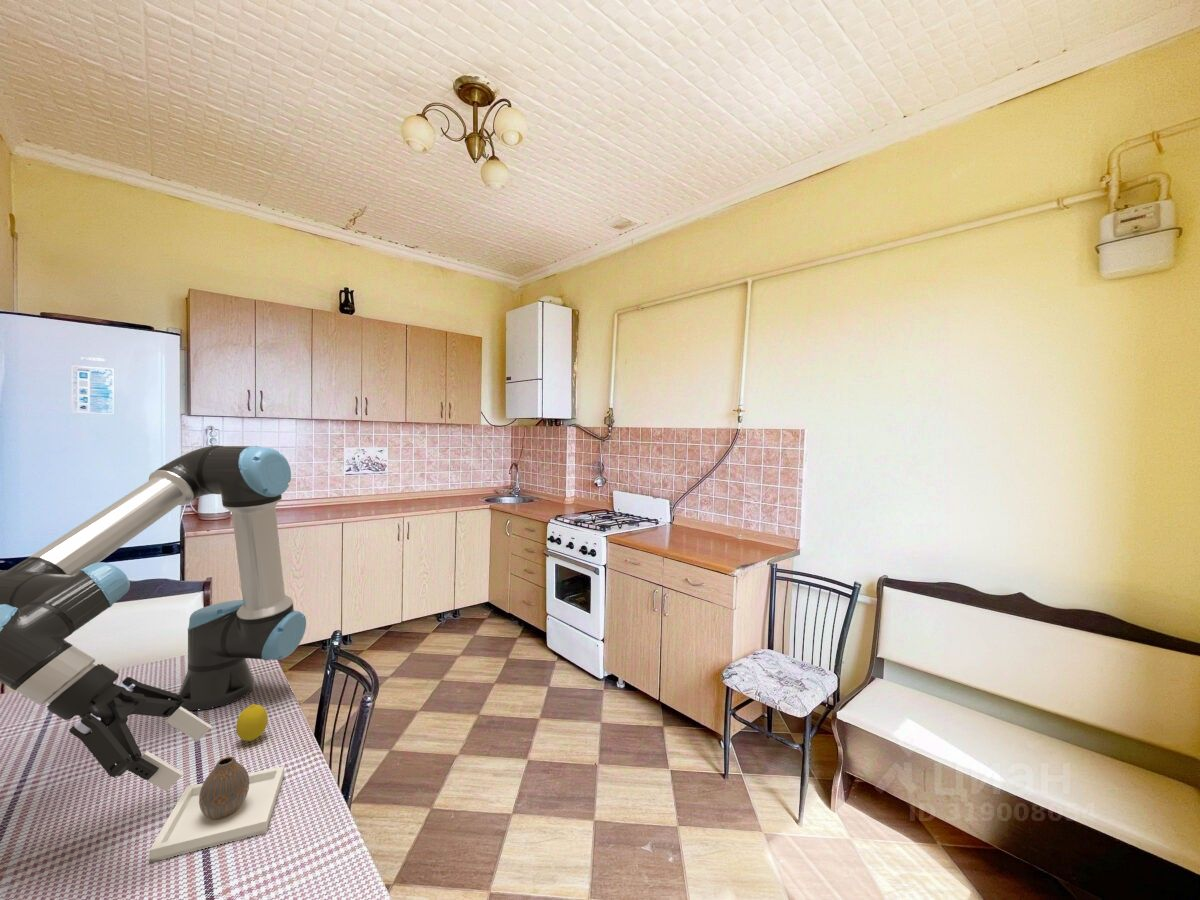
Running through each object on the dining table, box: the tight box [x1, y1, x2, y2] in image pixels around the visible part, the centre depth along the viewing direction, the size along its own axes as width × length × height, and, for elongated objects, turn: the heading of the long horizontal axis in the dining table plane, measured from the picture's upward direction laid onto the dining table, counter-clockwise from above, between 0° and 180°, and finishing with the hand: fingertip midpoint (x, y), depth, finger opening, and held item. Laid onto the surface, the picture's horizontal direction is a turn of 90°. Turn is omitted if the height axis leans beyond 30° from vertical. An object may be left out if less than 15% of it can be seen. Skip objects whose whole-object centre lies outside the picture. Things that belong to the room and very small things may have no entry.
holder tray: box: [148, 765, 285, 864], centre depth 83 cm, size 15×15×2 cm
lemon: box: [235, 703, 269, 743], centre depth 103 cm, size 6×6×8 cm
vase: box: [199, 756, 249, 820], centre depth 83 cm, size 7×7×9 cm
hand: (191, 756), depth 81 cm, fingers open, 13 cm apart
